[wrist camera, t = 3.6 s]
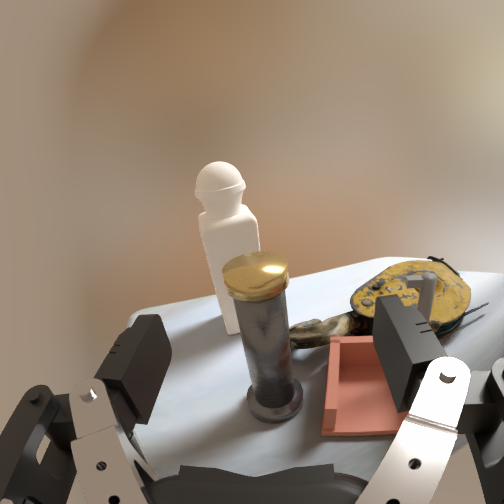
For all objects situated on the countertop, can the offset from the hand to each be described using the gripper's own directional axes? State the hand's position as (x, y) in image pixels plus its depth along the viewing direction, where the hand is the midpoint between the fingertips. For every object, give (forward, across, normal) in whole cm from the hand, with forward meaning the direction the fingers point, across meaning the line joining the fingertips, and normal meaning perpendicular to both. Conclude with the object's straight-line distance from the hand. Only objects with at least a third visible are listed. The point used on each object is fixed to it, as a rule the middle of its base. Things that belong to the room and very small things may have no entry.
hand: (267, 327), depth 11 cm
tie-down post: (+12, +1, +19) cm, 22 cm away
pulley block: (+23, -14, +19) cm, 33 cm away
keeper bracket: (+11, -9, +19) cm, 24 cm away
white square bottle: (+27, +6, +19) cm, 33 cm away
